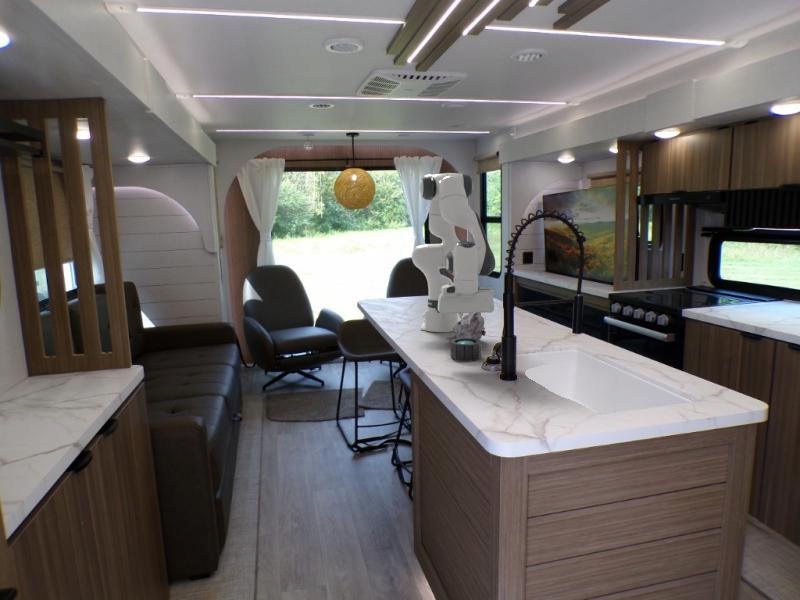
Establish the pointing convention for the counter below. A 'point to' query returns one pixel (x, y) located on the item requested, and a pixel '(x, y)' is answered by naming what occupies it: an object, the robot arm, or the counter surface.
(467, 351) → the grey short cylinder
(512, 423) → the counter surface
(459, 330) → the rock
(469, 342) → the teal cube
